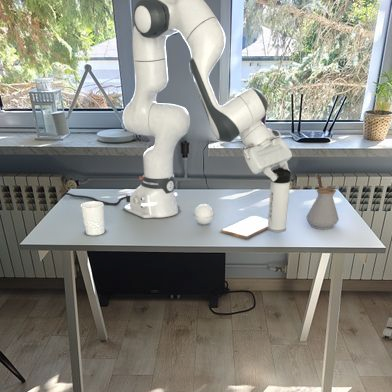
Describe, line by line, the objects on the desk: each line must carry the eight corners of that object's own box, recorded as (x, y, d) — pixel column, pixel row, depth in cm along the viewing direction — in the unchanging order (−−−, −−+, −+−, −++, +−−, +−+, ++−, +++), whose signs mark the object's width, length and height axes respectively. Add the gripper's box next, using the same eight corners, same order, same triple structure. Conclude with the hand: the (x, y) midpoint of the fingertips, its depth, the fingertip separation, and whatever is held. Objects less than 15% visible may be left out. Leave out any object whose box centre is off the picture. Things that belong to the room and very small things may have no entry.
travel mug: (285, 226, 176) (290, 167, 165) (286, 233, 171) (291, 173, 159) (267, 225, 177) (271, 167, 165) (267, 232, 171) (271, 173, 160)
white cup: (96, 237, 175) (92, 209, 170) (79, 233, 179) (75, 205, 173) (110, 230, 181) (108, 203, 175) (94, 227, 184) (91, 199, 179)
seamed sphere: (192, 221, 189) (192, 201, 185) (212, 220, 189) (212, 200, 185) (195, 230, 180) (195, 210, 176) (216, 229, 181) (216, 209, 177)
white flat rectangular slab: (221, 232, 179) (221, 229, 178) (252, 217, 191) (253, 215, 191) (246, 239, 173) (246, 236, 172) (277, 223, 186) (277, 221, 185)
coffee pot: (340, 231, 179) (347, 188, 170) (308, 231, 179) (313, 188, 170) (327, 212, 196) (333, 172, 188) (298, 212, 197) (302, 172, 188)
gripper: (246, 141, 154) (271, 178, 154) (281, 130, 167) (304, 164, 167) (234, 154, 159) (258, 190, 159) (269, 142, 172) (291, 176, 172)
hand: (282, 177), depth 163 cm, fingers closed on travel mug, 6 cm apart
